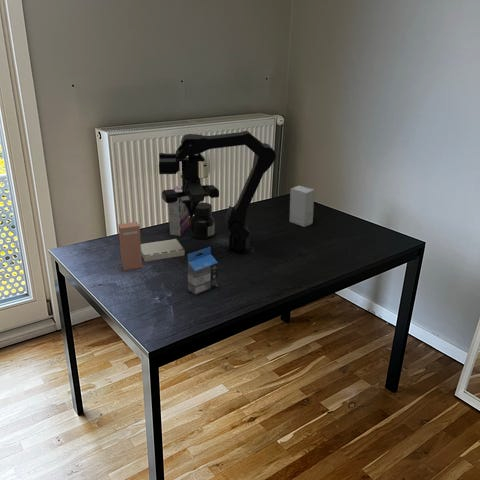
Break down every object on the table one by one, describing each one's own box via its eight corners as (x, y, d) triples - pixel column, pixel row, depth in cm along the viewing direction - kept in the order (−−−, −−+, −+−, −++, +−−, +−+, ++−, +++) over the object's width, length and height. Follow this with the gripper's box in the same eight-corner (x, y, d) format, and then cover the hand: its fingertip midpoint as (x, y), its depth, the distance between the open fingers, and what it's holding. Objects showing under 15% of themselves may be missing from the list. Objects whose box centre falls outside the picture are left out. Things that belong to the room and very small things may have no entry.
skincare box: (312, 224, 196) (316, 189, 190) (303, 227, 192) (306, 192, 186) (297, 218, 201) (299, 184, 195) (287, 221, 198) (290, 187, 191)
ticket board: (176, 243, 175) (176, 238, 174) (184, 255, 167) (184, 249, 166) (138, 249, 170) (138, 244, 169) (144, 261, 162) (144, 256, 161)
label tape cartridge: (195, 295, 143) (194, 259, 138) (187, 290, 146) (186, 254, 140) (218, 286, 148) (218, 250, 143) (210, 281, 151) (210, 246, 146)
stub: (139, 262, 161) (137, 221, 154) (142, 267, 158) (139, 225, 151) (121, 265, 158) (118, 224, 152) (123, 270, 155) (120, 228, 149)
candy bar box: (177, 224, 192) (176, 185, 185) (189, 225, 191) (189, 186, 184) (168, 235, 182) (167, 194, 175) (181, 236, 181) (180, 195, 174)
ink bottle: (215, 239, 179) (215, 210, 174) (191, 240, 178) (191, 210, 173) (213, 229, 188) (213, 200, 183) (190, 230, 187) (190, 201, 182)
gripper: (169, 183, 148) (171, 229, 155) (225, 177, 155) (224, 222, 161) (160, 173, 157) (162, 217, 164) (213, 168, 164) (213, 210, 171)
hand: (191, 217), depth 165 cm, fingers closed
